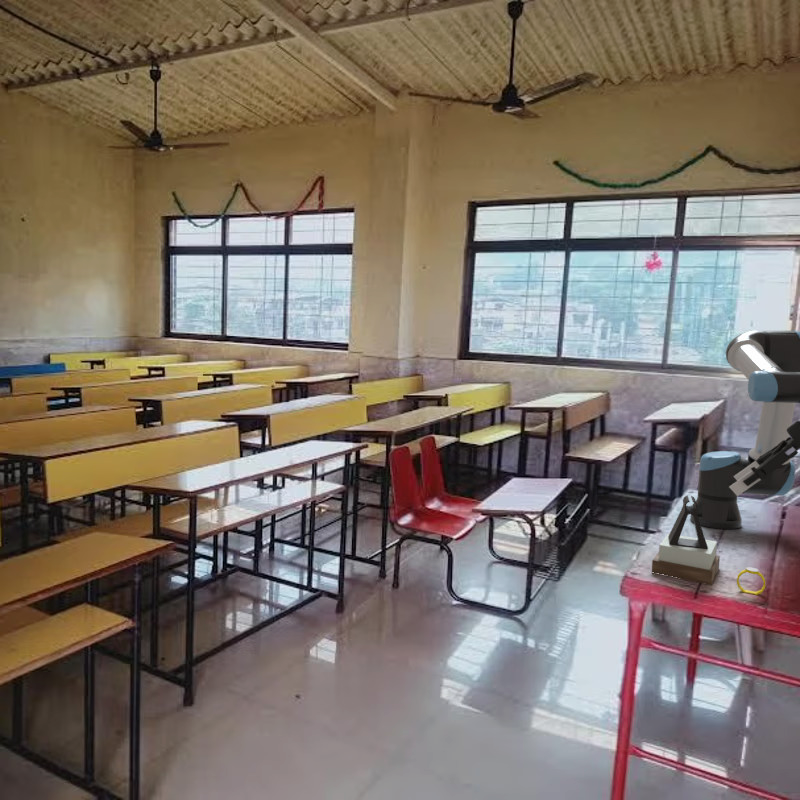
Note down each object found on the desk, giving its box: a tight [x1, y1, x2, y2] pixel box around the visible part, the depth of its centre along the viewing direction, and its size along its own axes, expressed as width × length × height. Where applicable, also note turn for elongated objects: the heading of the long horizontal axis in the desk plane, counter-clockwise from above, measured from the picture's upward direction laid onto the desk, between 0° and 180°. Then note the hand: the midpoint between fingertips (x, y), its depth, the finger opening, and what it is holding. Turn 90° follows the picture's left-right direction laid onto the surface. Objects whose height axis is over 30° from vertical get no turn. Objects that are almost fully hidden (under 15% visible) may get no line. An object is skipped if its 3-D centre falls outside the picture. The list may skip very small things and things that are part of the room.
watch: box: [736, 566, 766, 596], centre depth 155 cm, size 6×3×6 cm, turn 61°
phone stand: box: [668, 495, 708, 549], centre depth 168 cm, size 9×6×12 cm, turn 70°
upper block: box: [658, 532, 718, 570], centre depth 169 cm, size 12×12×4 cm
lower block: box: [651, 551, 721, 586], centre depth 169 cm, size 14×14×4 cm
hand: (735, 485), depth 161 cm, fingers open, 13 cm apart
